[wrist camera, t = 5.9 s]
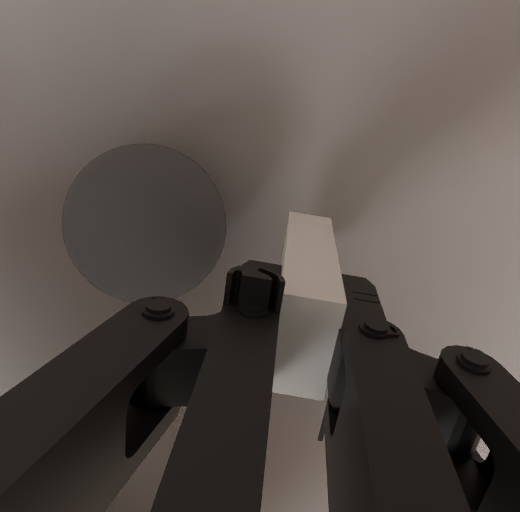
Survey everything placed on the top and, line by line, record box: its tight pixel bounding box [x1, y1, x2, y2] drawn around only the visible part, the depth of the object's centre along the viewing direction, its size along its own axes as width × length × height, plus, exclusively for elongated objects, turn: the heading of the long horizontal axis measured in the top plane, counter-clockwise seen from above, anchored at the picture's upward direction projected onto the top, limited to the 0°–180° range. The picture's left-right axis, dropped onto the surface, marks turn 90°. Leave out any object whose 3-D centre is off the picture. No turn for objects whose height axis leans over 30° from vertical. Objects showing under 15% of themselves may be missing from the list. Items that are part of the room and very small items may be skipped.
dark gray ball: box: [62, 144, 226, 302], centre depth 16 cm, size 6×6×6 cm
